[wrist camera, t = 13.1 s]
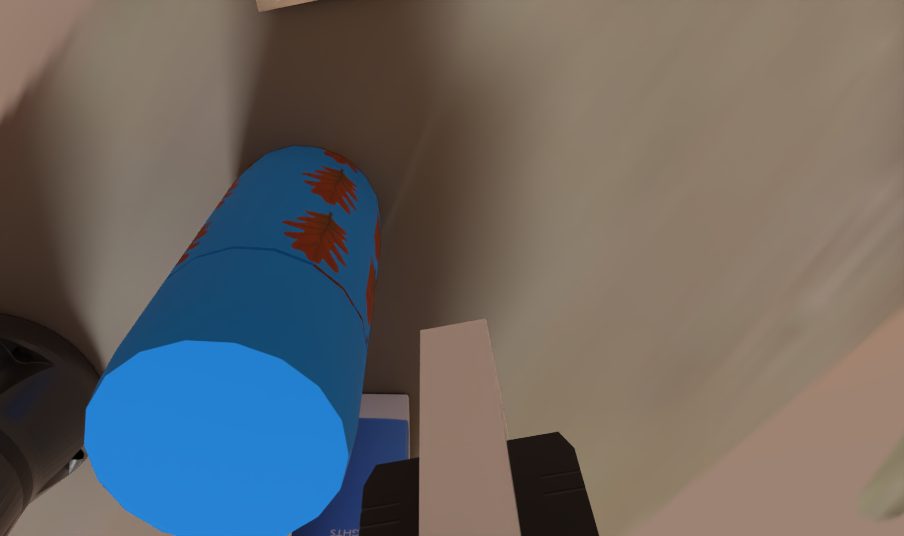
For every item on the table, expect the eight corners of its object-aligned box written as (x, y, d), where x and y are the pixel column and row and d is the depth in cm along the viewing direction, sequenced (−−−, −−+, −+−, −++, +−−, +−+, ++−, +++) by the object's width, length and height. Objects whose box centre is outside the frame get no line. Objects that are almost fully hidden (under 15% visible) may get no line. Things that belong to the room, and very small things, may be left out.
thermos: (277, 112, 48) (151, 284, 26) (412, 196, 51) (404, 418, 29) (203, 236, 52) (36, 482, 29) (333, 308, 55) (271, 582, 32)
